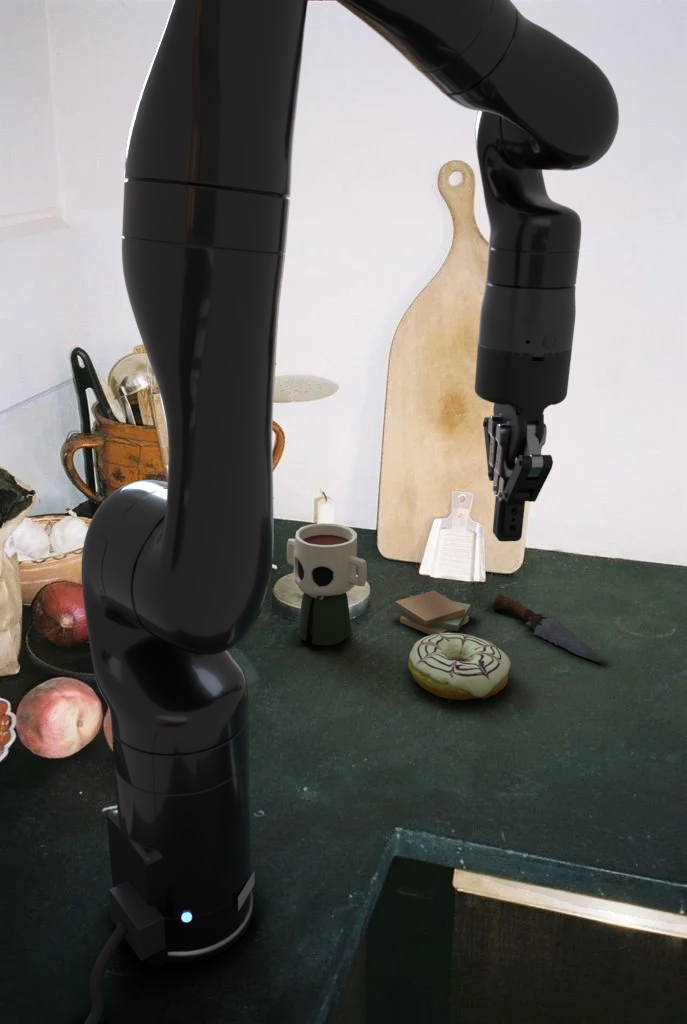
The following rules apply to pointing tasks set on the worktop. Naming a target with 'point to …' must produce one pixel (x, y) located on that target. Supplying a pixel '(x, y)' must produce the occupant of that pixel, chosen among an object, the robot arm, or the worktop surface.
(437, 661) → the decorated donut
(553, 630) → the knife
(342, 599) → the character mug
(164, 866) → the robot arm
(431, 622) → the coaster stack
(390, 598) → the worktop surface
